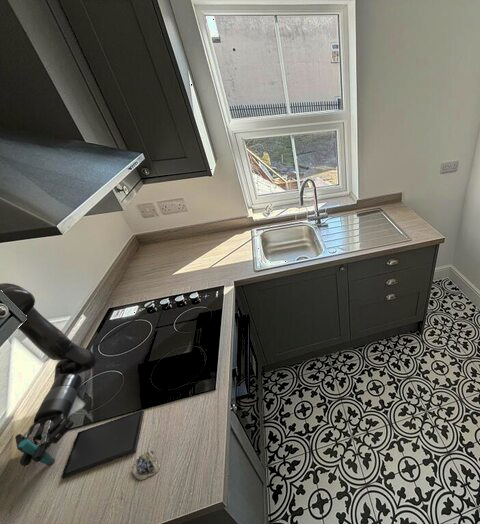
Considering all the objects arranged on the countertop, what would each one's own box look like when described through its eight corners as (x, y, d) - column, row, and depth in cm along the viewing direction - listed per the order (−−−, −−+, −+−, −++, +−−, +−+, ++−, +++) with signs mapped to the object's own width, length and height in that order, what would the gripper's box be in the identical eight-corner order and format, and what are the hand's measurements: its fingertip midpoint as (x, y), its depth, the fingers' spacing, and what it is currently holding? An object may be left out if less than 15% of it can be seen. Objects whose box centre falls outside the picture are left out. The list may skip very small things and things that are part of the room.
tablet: (63, 479, 81) (60, 477, 80) (79, 433, 91) (77, 432, 90) (136, 451, 86) (134, 450, 85) (144, 411, 96) (142, 409, 95)
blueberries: (147, 448, 86) (144, 445, 85) (168, 457, 84) (165, 454, 83) (126, 474, 81) (123, 471, 80) (148, 484, 79) (145, 481, 78)
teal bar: (45, 467, 84) (16, 448, 77) (48, 460, 85) (20, 440, 78) (54, 464, 84) (25, 445, 77) (57, 457, 86) (29, 437, 79)
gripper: (21, 407, 88) (-14, 468, 74) (76, 390, 91) (52, 445, 78) (38, 419, 92) (8, 479, 79) (89, 403, 96) (68, 458, 82)
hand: (30, 462), depth 78 cm, fingers closed on teal bar, 2 cm apart
